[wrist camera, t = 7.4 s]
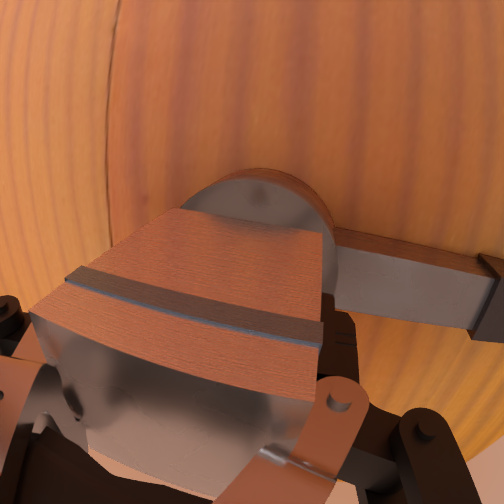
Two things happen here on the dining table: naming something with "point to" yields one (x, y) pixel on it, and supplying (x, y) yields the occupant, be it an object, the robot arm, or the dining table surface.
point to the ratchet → (370, 258)
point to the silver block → (190, 344)
